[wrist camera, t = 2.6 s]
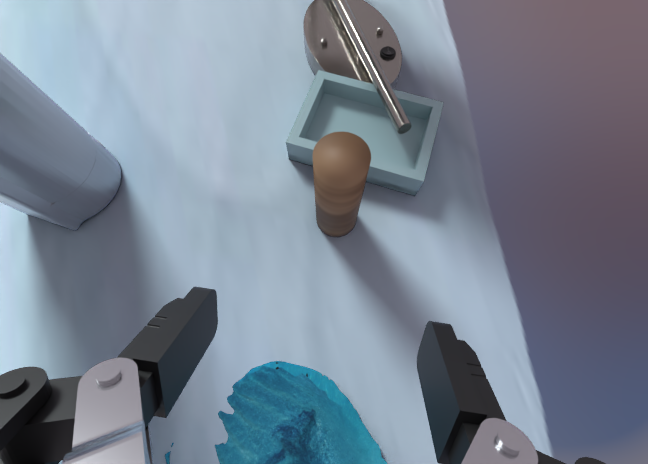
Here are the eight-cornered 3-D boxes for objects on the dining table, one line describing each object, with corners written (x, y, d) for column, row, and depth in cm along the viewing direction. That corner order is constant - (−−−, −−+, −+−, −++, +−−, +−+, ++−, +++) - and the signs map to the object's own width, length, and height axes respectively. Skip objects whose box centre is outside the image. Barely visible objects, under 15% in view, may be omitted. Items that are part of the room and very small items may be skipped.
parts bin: (415, 195, 32) (423, 181, 30) (289, 159, 34) (285, 142, 31) (434, 121, 36) (444, 102, 33) (318, 90, 37) (318, 69, 34)
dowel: (349, 241, 31) (361, 188, 20) (311, 229, 31) (304, 171, 21) (360, 206, 32) (377, 140, 22) (323, 195, 32) (323, 125, 22)
